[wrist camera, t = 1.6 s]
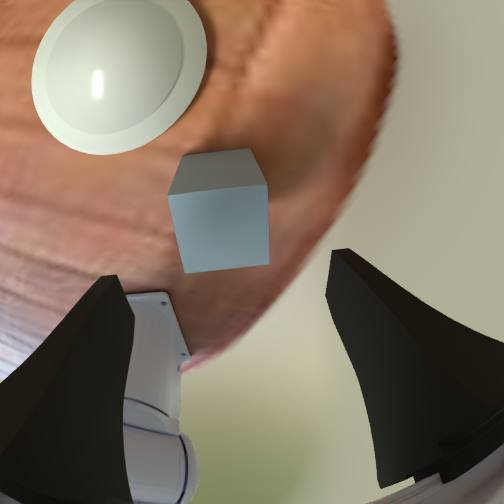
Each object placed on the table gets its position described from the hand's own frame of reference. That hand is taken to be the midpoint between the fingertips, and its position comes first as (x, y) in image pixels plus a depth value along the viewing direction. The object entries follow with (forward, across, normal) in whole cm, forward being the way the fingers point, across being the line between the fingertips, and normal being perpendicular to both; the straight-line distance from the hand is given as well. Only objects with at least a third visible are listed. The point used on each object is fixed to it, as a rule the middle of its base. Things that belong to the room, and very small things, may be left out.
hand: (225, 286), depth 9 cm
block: (+10, 0, 0) cm, 10 cm away
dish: (+10, +6, -8) cm, 14 cm away
